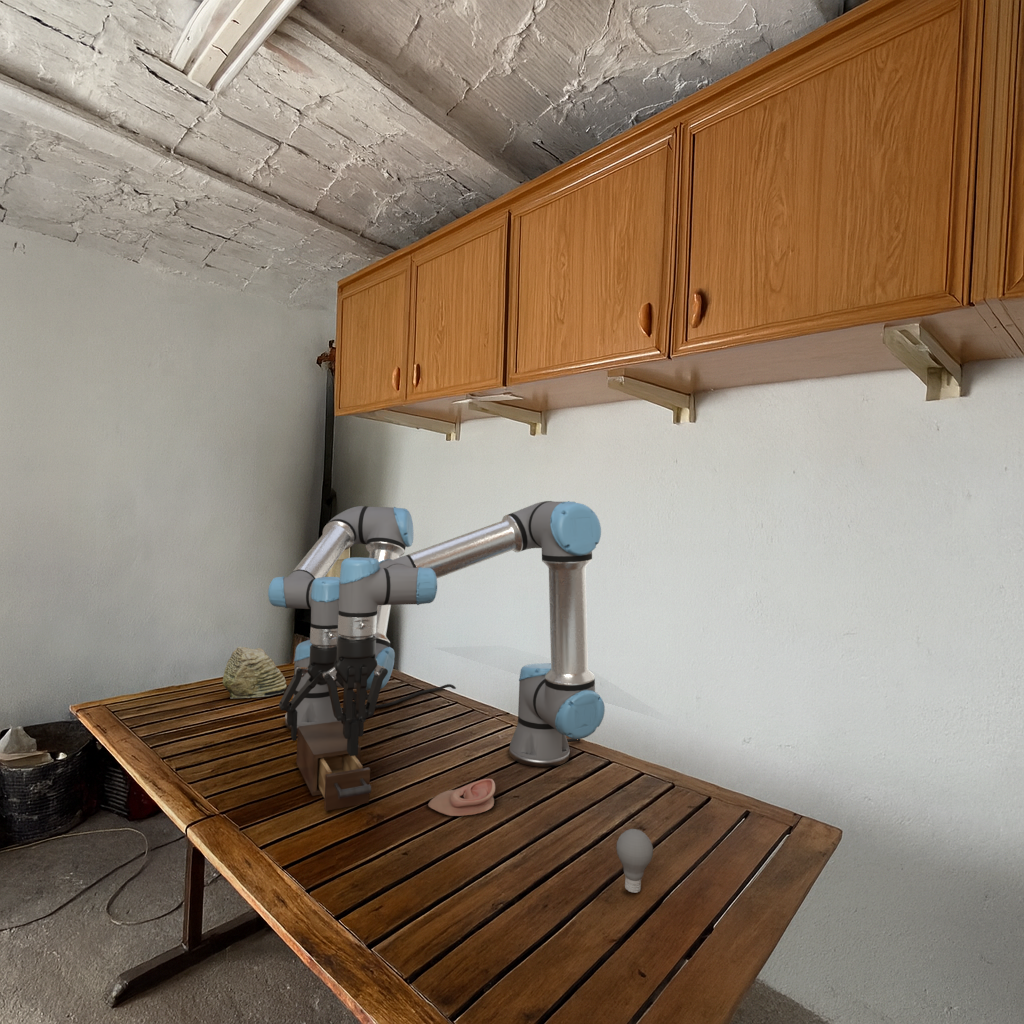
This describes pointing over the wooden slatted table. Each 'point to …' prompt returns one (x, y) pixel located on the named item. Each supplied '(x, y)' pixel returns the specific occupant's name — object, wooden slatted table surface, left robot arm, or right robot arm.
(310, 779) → the cabinet
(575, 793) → the wooden slatted table surface
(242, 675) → the fossil
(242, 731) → the wooden slatted table surface
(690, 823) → the wooden slatted table surface
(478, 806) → the anatomical model
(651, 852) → the light bulb
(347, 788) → the drawer
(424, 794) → the wooden slatted table surface
